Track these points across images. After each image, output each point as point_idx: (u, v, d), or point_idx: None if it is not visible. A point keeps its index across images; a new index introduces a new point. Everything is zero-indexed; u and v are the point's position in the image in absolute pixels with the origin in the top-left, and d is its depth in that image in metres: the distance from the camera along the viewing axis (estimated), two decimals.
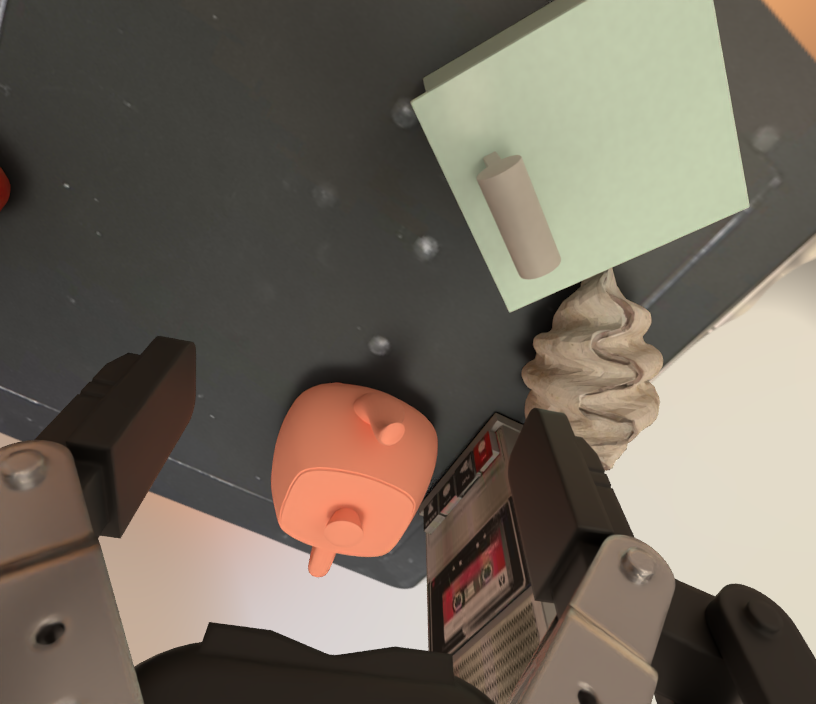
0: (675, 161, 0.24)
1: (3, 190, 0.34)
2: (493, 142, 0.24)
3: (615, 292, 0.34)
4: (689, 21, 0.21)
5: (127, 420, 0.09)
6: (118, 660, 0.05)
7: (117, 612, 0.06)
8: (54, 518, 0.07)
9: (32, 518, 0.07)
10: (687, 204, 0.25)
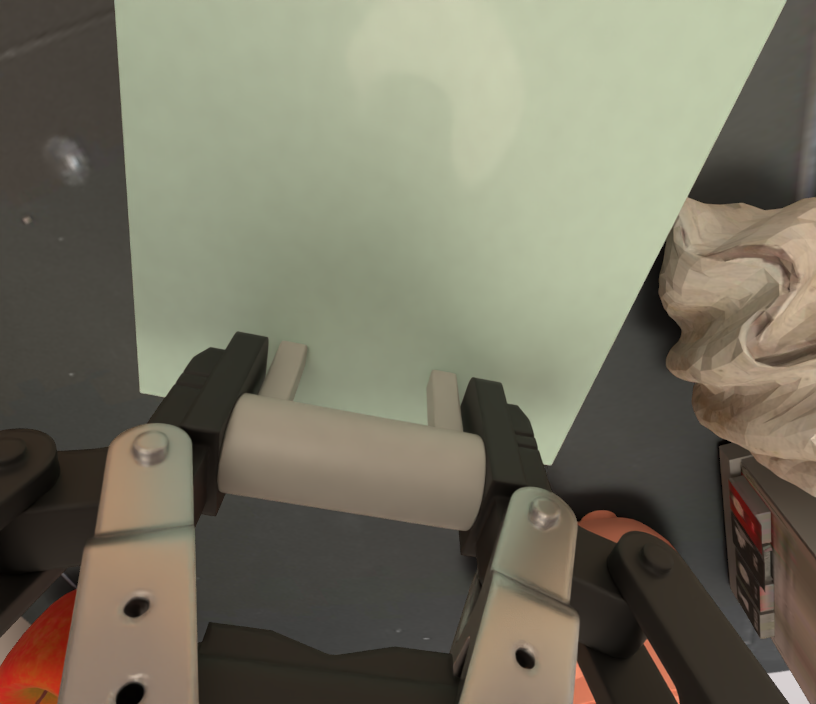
0: (550, 58, 0.10)
1: None
2: (267, 334, 0.13)
3: (719, 237, 0.17)
4: None
5: (228, 407, 0.09)
6: (186, 650, 0.05)
7: (195, 602, 0.06)
8: (187, 491, 0.08)
9: (148, 494, 0.07)
10: (662, 84, 0.10)
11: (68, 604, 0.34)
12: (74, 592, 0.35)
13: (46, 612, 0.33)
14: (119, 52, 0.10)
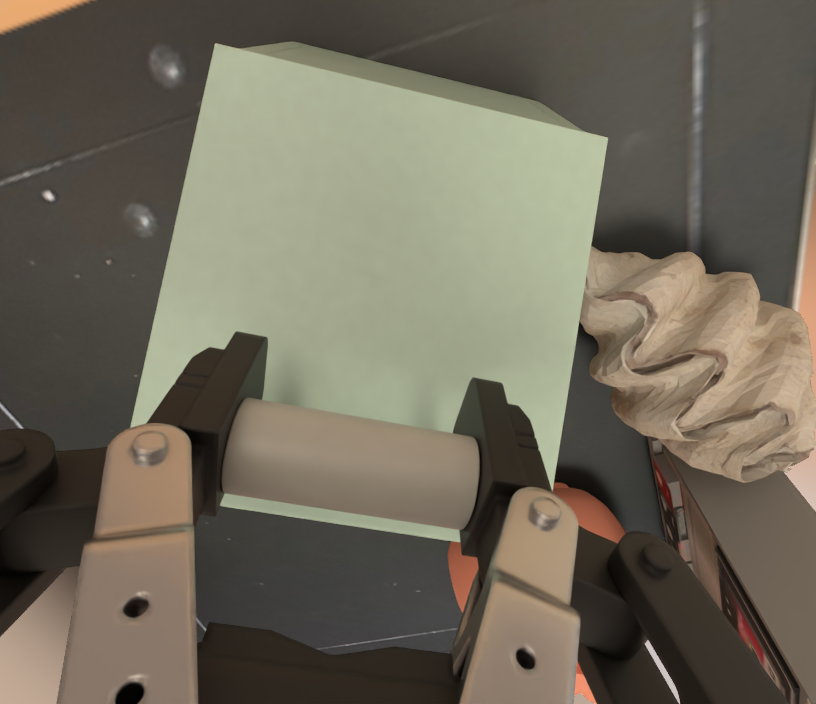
0: (472, 196, 0.15)
1: None
2: None
3: (610, 283, 0.24)
4: (302, 97, 0.15)
5: (227, 407, 0.09)
6: (185, 650, 0.05)
7: (195, 602, 0.06)
8: (186, 491, 0.08)
9: (147, 494, 0.07)
10: (546, 210, 0.15)
11: None
12: None
13: None
14: (183, 192, 0.14)
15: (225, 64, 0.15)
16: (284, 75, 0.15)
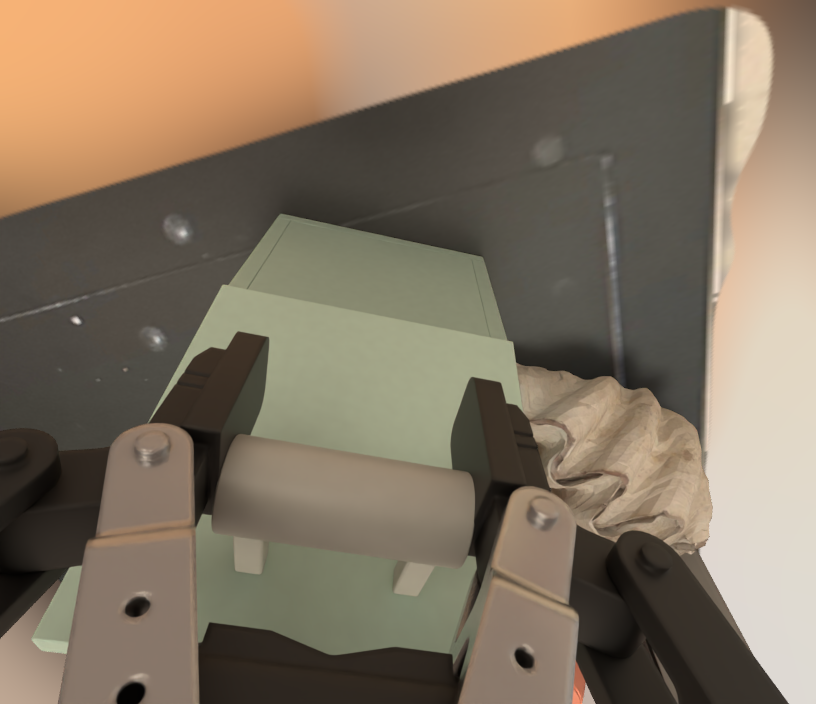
0: (421, 372, 0.19)
1: None
2: (227, 541, 0.13)
3: (539, 407, 0.30)
4: (285, 313, 0.20)
5: (228, 407, 0.09)
6: (187, 650, 0.05)
7: (196, 602, 0.06)
8: (189, 491, 0.08)
9: (149, 494, 0.07)
10: None
11: None
12: None
13: None
14: (181, 363, 0.17)
15: (229, 294, 0.20)
16: (272, 301, 0.20)
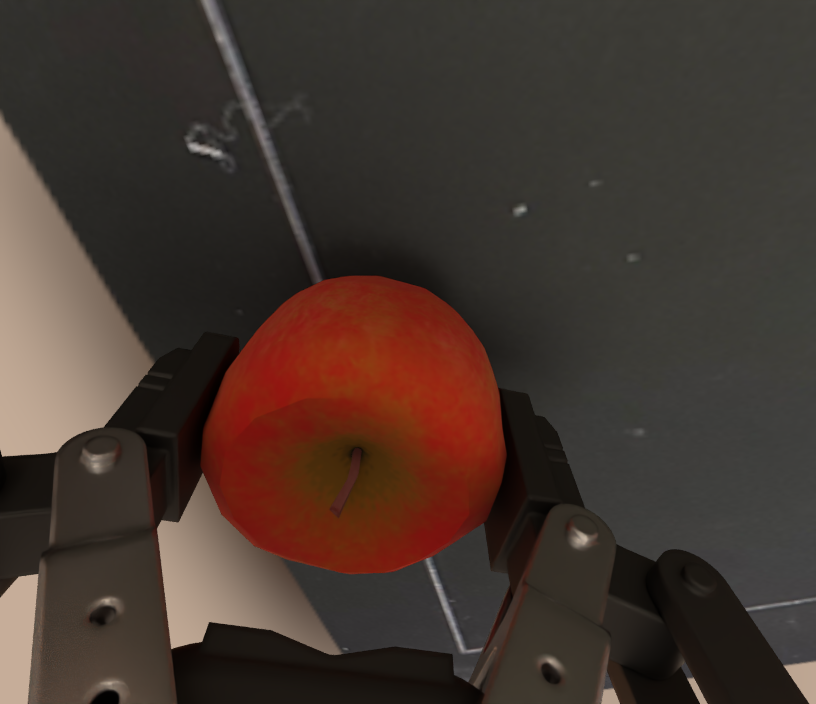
0: None
1: None
2: None
3: None
4: None
5: (188, 410, 0.09)
6: (159, 652, 0.05)
7: (165, 604, 0.06)
8: (136, 498, 0.07)
9: (103, 501, 0.07)
10: None
11: (357, 276, 0.13)
12: None
13: (305, 290, 0.12)
14: None
15: None
16: None
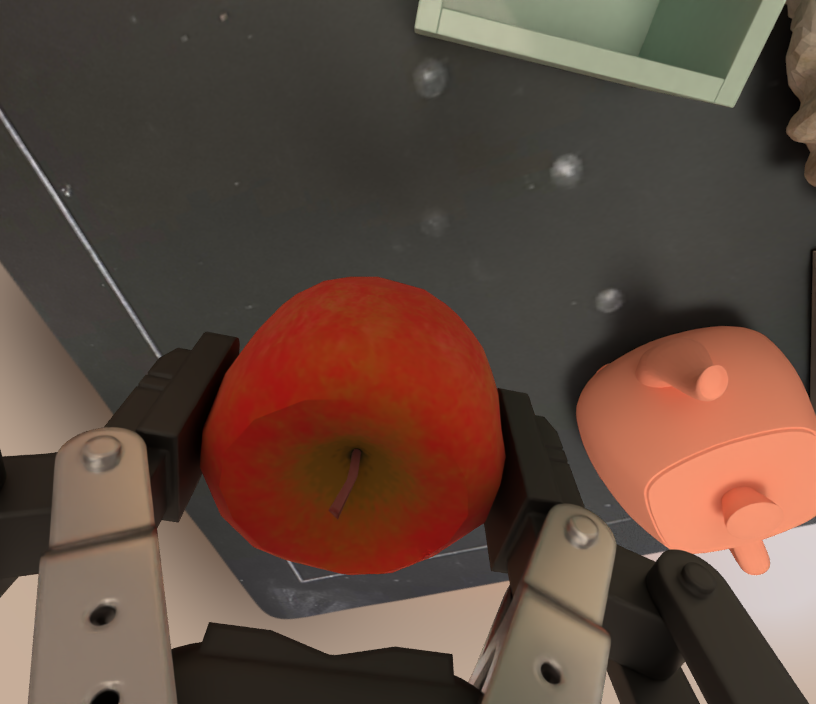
0: None
1: None
2: None
3: None
4: None
5: (188, 410, 0.09)
6: (160, 652, 0.05)
7: (165, 604, 0.06)
8: (136, 498, 0.07)
9: (104, 501, 0.07)
10: None
11: (356, 277, 0.13)
12: None
13: (305, 291, 0.12)
14: None
15: None
16: None
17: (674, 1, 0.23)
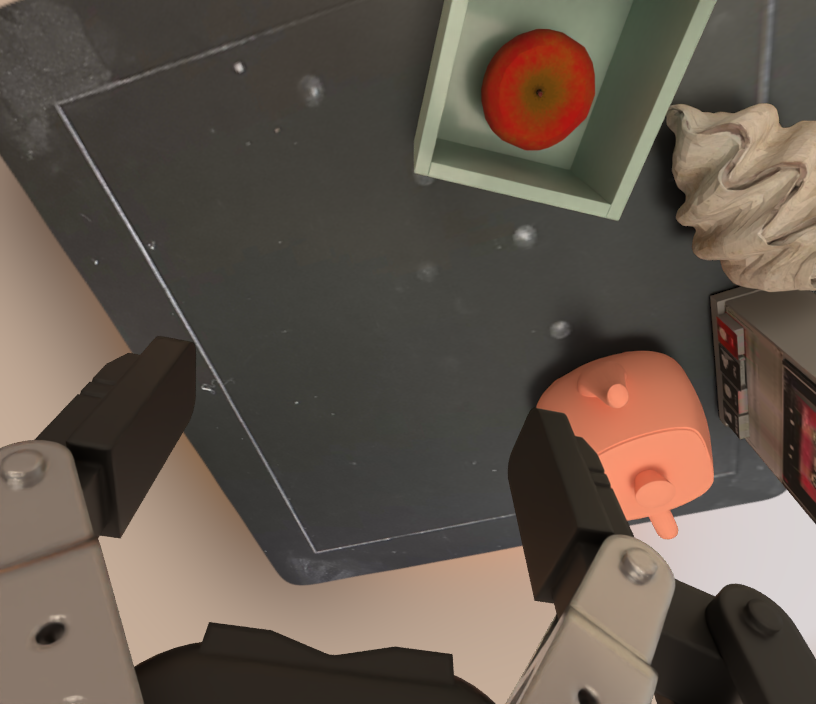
0: None
1: None
2: None
3: (707, 124, 0.31)
4: None
5: (127, 420, 0.09)
6: (118, 660, 0.05)
7: (117, 612, 0.06)
8: (54, 518, 0.07)
9: (32, 518, 0.07)
10: None
11: None
12: None
13: None
14: None
15: None
16: None
17: (592, 133, 0.33)
